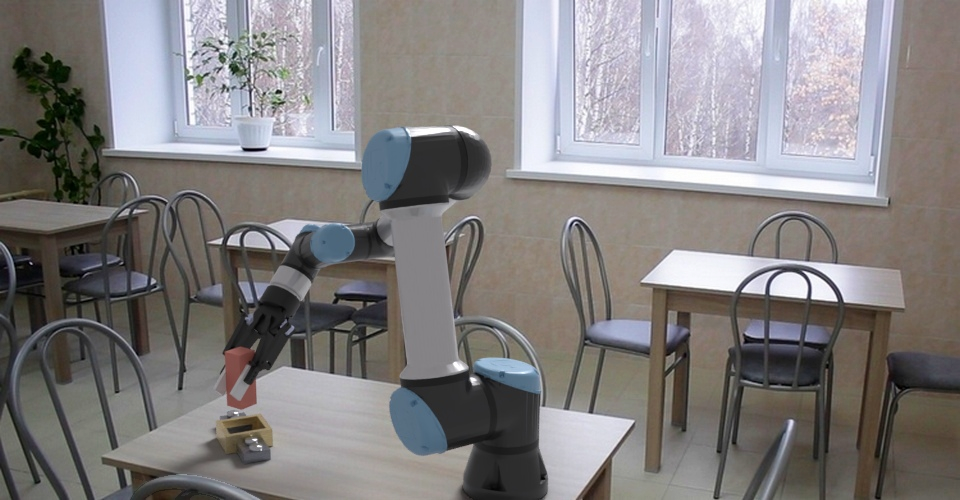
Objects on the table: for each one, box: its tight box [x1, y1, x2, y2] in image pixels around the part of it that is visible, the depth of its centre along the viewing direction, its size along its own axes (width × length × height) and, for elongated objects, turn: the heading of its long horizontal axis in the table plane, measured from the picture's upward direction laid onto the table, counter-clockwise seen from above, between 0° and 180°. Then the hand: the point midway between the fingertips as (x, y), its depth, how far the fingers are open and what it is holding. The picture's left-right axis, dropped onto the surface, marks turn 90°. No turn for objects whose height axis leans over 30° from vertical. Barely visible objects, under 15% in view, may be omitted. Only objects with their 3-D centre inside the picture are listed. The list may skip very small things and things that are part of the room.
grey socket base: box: [215, 409, 274, 465], centre depth 193 cm, size 21×9×4 cm, turn 27°
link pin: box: [224, 347, 258, 411], centre depth 191 cm, size 4×4×11 cm
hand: (226, 394), depth 189 cm, fingers closed on link pin, 4 cm apart
